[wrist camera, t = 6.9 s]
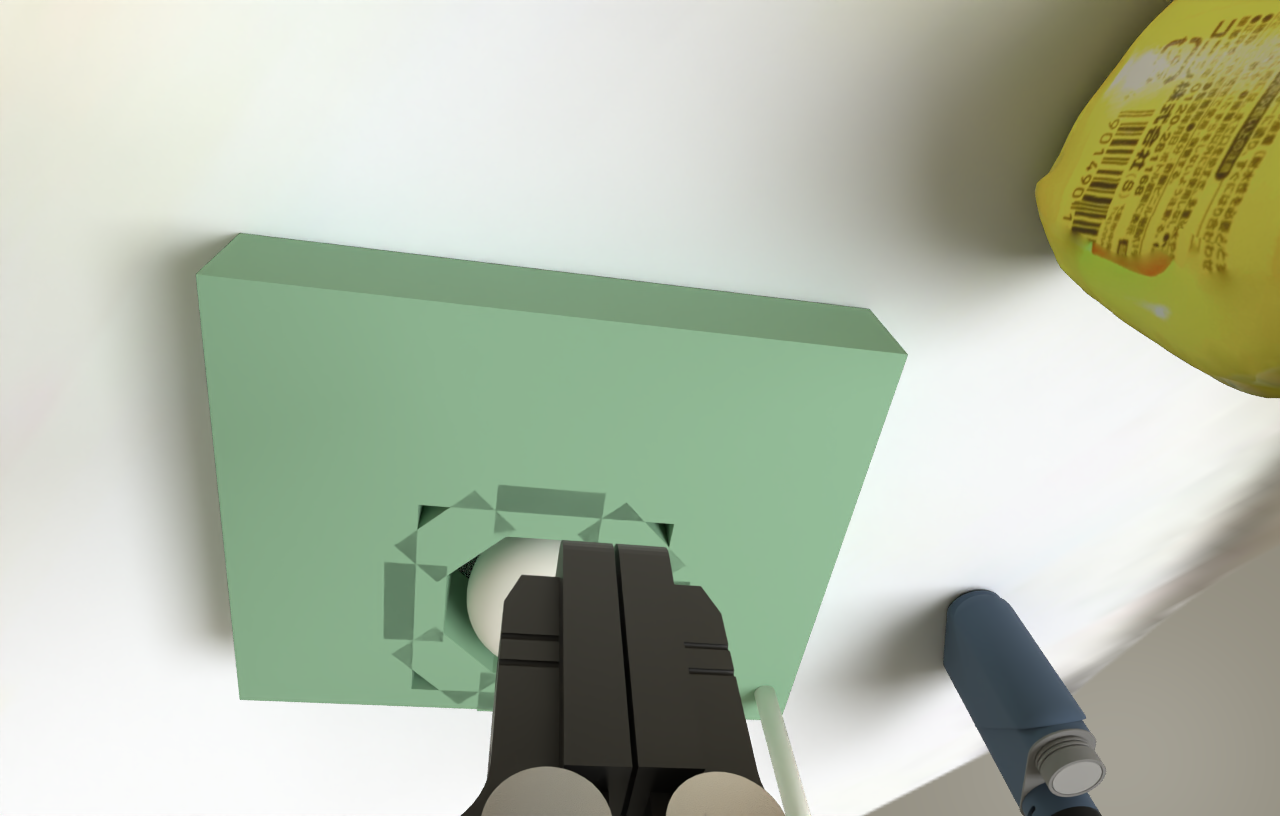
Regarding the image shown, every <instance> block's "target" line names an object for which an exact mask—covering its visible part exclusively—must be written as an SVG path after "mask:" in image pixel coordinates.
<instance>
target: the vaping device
mask: <svg viewBox="0 0 1280 816" xmlns="http://www.w3.org/2000/svg"><path fill="white" fill-rule="evenodd" d="M943 664H944V667H945V669H946V671H947V673H948V675H949V676H950V678H951V680H952V682H953V684H954V686H955V688H956V690H957V691H958V693H959V695H960V697H961V699H962V701H963V703H964V705H965V707H966V708H967V710H968V712H969V714H970V716H971V718H972V720H973V722H974V723H975V726H976V727H977V729H978V731H979V733H980V735H981V737H982V739H983V740H984V742H985V744H986V746H987V748H988V750H989V752H990V754H991V755H992V757H993V759H994V761H995V763H996V765H997V767H998V769H999V770H1000V772H1001V774H1002V776H1003V778H1004V780H1005V782H1006V784H1007V786H1008V787H1009V789H1010V791H1011V793H1012V795H1013V797H1014V799H1015V801H1016V802H1017V804H1018V806H1019V808H1020V812H1021V813H1022V815H1024V816H1102V815H1101V814H1100V812H1099V811H1098V809H1097V807H1096V806H1095V804H1094V802H1093V801H1092V799H1091V798H1090V796H1089V794H1088V793H1087V792H1088V791H1090V790H1092V789H1093V788H1095V787H1096V786H1098V785H1099V784H1100V783H1101V782H1102V780H1103V779H1104V777H1105V774H1106V768H1105V766H1104V764H1103V763H1102V761H1101V760H1100V758H1099V757H1098V755H1097V754H1096V752H1095V746H1096V739H1095V737H1094V735H1093V734H1092V733H1091V732H1090V731H1089V729H1088V728H1087V727H1086V725H1085V724H1084V722H1083V721H1082V720H1083V719H1086V716H1085V714H1084V713H1083V711H1082V710H1081V708H1080V707H1079V705H1078V704H1077V702H1076V701H1075V699H1074V698H1073V697H1072V695H1071V694H1070V692H1069V691H1068V689H1067V688H1066V686H1065V685H1064V683H1063V682H1062V680H1061V679H1060V677H1059V676H1058V674H1057V673H1056V672H1055V670H1054V669H1053V667H1052V666H1051V664H1050V663H1049V661H1048V660H1047V658H1046V657H1045V655H1044V654H1043V652H1042V651H1041V649H1040V648H1039V647H1038V645H1037V644H1036V642H1035V641H1034V639H1033V638H1032V636H1031V635H1030V633H1029V632H1028V630H1027V629H1026V627H1025V626H1024V624H1023V623H1022V622H1021V620H1020V619H1019V617H1018V616H1017V614H1016V613H1015V611H1014V610H1013V608H1012V607H1011V606H1010V604H1009V603H1007V602H1006V601H1005V600H1004V599H1002V598H1000V597H999V596H998V595H997V594H996V593H994V592H991V591H985V590H980V591H973V592H969V593H966V594H964V595H962V596H960V597H958V598H957V599H956V600H954V601H953V602H952V604H951V605H950V606H949V608H948V611H947V622H946V635H945V648H944V661H943Z"/></svg>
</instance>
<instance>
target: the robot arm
mask: <svg viewBox="0 0 1280 816" xmlns="http://www.w3.org/2000/svg"><path fill="white" fill-rule="evenodd" d="M461 816H785V814H784V812H783V811H782V809H781V807H780V806H779V804H778V803H777V802H776V801H775V800H774V798H773V797H772V796H771V795H770V794H769V793H768V792H766V791H765V790H764V787H763V785H762V783H761V781H760V778H759V775H758V771H757V767H756V763H755V758H754V754H753V750H752V745H751V741H750V736H749V732H748V728H747V723H746V719H745V715H744V710H743V706H742V701H741V697H740V693H739V688H738V684H737V680H736V677H735V676H734V667H733V662H732V658H731V653H730V651H728V640H727V636H726V632H725V627H724V623H723V618H722V614H721V613H720V611H719V610H718V608H717V607H716V606H715V604H714V603H713V602H712V600H711V599H710V598H709V596H708V595H707V594H706V592H705V591H704V589H703V588H702V587H701V586H691V585H676V584H674V580H673V574H672V568H671V563H670V557H669V552H668V549H667V548H666V547H657V546H643V545H630V544H615V546H613V544H612V543H599V542H585V541H571V540H561V543H560V548H559V555H558V562H557V568H556V575H555V577H550V576H535V575H521V576H520V578H519V579H518V581H517V582H516V584H515V585H514V587H513V588H512V590H511V591H510V593H509V594H508V596H507V597H506V599H505V600H504V605H503V614H502V623H501V633H500V642H499V651H498V661H497V670H496V680H495V692H494V703H493V715H492V727H491V740H490V751H489V762H488V774H487V781H486V783H485V786H484V788H483V789H482V791H481V793H480V795H479V796H478V798H477V799H476V800H475V802H474V803H473V804H472V805H471V806H470V807H469V808H468V809H467V810H466V811H465V812H464V813H463V814H462V815H461Z"/></svg>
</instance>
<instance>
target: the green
mask: <svg viewBox="0 0 1280 816" xmlns="http://www.w3.org/2000/svg"><path fill="white" fill-rule="evenodd" d="M196 282H197V291H198V301H199V311H200V320H201V330H202V339H203V349H204V359H205V368H206V378H207V388H208V397H209V407H210V417H211V426H212V436H213V446H214V455H215V465H216V475H217V484H218V494H219V504H220V513H221V523H222V533H223V542H224V552H225V562H226V571H227V581H228V590H229V600H230V610H231V619H232V629H233V639H234V648H235V658H236V668H237V677H238V687H239V697H240V700H259V701H285V702H310V703H336V704H362V705H387V706H413V707H439V708H465V709H477V711H493V703H494V692H495V680H496V670H497V661H498V657H497V656H496V655H494V654H493V653H492V652H491V651H490V650H488V649H487V648H486V647H485V646H484V644H483V643H482V642H481V641H480V639H479V638H478V636H477V635H476V633H475V631H474V629H473V627H472V624H471V622H470V619H469V615H468V611H467V586H468V580H469V579H468V578H467V577H466V576H464V575H463V574H462V573H461V572H460V571H459V570H458V568H459V567H461V566H462V565H464V564H466V563H467V562H469V561H470V560H472V559H473V558H475V557H476V556H478V555H479V554H481V553H482V552H484V551H485V550H487V549H488V548H490V547H491V546H493V545H494V544H496V543H497V542H499V541H500V540H502V539H503V538H505V537H506V536H507V537H521V538H535V539H549V540H571V541H585V542H599V543H612V544H613V546H615V544H630V545H643V546H657V547H666V548H667V549H668V552H669V557H670V563H671V568H672V574H673V580H674V584H676V585H691V586H701V587H702V588H703V589H704V591H705V592H706V594H707V595H708V596H709V598H710V599H711V600H712V602H713V603H714V604H715V606H716V607H717V608H718V610H719V611H720V613H721V614H722V618H723V623H724V627H725V632H726V636H727V640H728V651H730V653H731V658H732V662H733V667H734V676H735V677H736V680H737V684H738V688H739V693H740V697H741V701H742V706H743V710H744V715H745V719H747V720H761V723H762V727H763V731H764V734H765V738H766V742H767V746H768V750H769V754H770V757H771V761H772V765H773V769H774V773H775V776H776V780H777V784H778V788H779V792H780V796H781V799H782V803H783V807H784V811H785V815H786V816H811V814H810V810H809V807H808V803H807V800H806V796H805V793H804V790H803V786H802V783H801V779H800V776H799V772H798V769H797V765H796V762H795V758H794V755H793V752H792V748H791V745H790V741H789V738H788V734H787V731H786V727H785V724H784V721H783V717H782V714H783V711H784V709H785V706H786V703H787V700H788V697H789V694H790V691H791V688H792V686H793V683H794V680H795V677H796V674H797V671H798V668H799V666H800V663H801V660H802V657H803V654H804V651H805V648H806V645H807V643H808V640H809V637H810V634H811V631H812V628H813V625H814V623H815V620H816V617H817V614H818V611H819V608H820V605H821V602H822V600H823V597H824V594H825V591H826V588H827V585H828V582H829V579H830V577H831V574H832V571H833V568H834V565H835V562H836V559H837V557H838V554H839V551H840V548H841V545H842V542H843V539H844V536H845V534H846V531H847V528H848V525H849V522H850V519H851V516H852V514H853V511H854V508H855V505H856V502H857V499H858V496H859V493H860V491H861V488H862V485H863V482H864V479H865V476H866V473H867V471H868V468H869V465H870V462H871V459H872V456H873V453H874V450H875V448H876V445H877V442H878V439H879V436H880V433H881V430H882V428H883V425H884V422H885V419H886V416H887V413H888V410H889V407H890V405H891V402H892V399H893V396H894V393H895V390H896V387H897V384H898V382H899V379H900V376H901V373H902V370H903V367H904V364H905V362H906V359H907V356H908V354H907V353H906V352H905V351H904V349H903V348H902V347H901V346H900V345H899V343H898V342H897V341H896V340H895V339H894V338H893V336H892V335H891V334H890V333H889V332H888V330H887V329H886V328H885V327H884V326H883V325H882V323H881V322H880V321H879V320H878V319H877V317H876V316H875V315H874V314H873V313H872V311H871V310H870V309H864V308H856V307H847V306H839V305H831V304H822V303H814V302H806V301H798V300H789V299H781V298H773V297H765V296H756V295H748V294H740V293H731V292H723V291H715V290H707V289H698V288H690V287H682V286H673V285H665V284H657V283H649V282H640V281H632V280H624V279H616V278H607V277H599V276H591V275H582V274H574V273H566V272H558V271H549V270H541V269H533V268H525V267H516V266H508V265H500V264H491V263H483V262H475V261H467V260H458V259H450V258H442V257H434V256H425V255H417V254H409V253H400V252H392V251H384V250H376V249H367V248H359V247H351V246H342V245H334V244H326V243H318V242H309V241H301V240H293V239H285V238H276V237H268V236H260V235H251V234H243V233H240V234H239V235H237V236H236V237H235V238H234V239H233V240H232V241H231V242H230V243H229V244H228V245H227V246H226V247H225V248H224V249H222V250H221V251H220V252H219V253H218V254H217V255H216V256H215V257H214V258H213V259H212V260H211V261H210V262H208V263H207V264H206V265H205V266H204V267H203V268H202V269H201V270H200V271H199V272H198V273H197V274H196Z"/></svg>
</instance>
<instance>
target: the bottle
mask: <svg viewBox="0 0 1280 816" xmlns="http://www.w3.org/2000/svg"><path fill="white" fill-rule="evenodd" d="M1035 197H1036V203H1037V208H1038V212H1039V217H1040V220H1041V223H1042V225H1043V228H1044V231H1045V234H1046V236H1047V239H1048V241H1049V244H1050V246H1051V248H1052V250H1053V253H1054V255H1055V258H1056V260H1057V262H1058V264H1059V266H1060V268H1061V269H1062V270H1063V271H1064V272H1065V273H1066V274H1067V275H1068V276H1069V277H1070V278H1071V279H1072V280H1073V281H1074V282H1075V283H1076V284H1077V285H1079V286H1080V287H1081V288H1082V289H1083V290H1084V291H1085V292H1086V293H1087V294H1088V295H1090V296H1091V297H1092V298H1094V299H1095V300H1097V301H1098V302H1100V303H1101V304H1102V305H1103V306H1104V307H1106V308H1107V309H1108V310H1110V311H1111V312H1112V313H1113V314H1114V315H1116V316H1117V317H1118V318H1119V319H1121V320H1122V321H1124V322H1125V323H1127V324H1128V325H1130V326H1131V327H1133V328H1134V329H1136V330H1137V331H1139V332H1140V333H1142V334H1143V335H1145V336H1146V337H1148V338H1149V339H1151V340H1152V341H1154V342H1155V343H1157V344H1159V345H1160V346H1161V347H1163V348H1164V349H1166V350H1167V351H1169V352H1170V353H1172V354H1173V355H1175V356H1177V357H1178V358H1180V359H1181V360H1183V361H1185V362H1186V363H1188V364H1190V365H1191V366H1193V367H1195V368H1197V369H1199V370H1200V371H1202V372H1204V373H1206V374H1208V375H1210V376H1211V377H1213V378H1214V379H1216V380H1218V381H1219V382H1221V383H1223V384H1226V385H1228V386H1230V387H1232V388H1234V389H1237V390H1239V391H1242V392H1245V393H1248V394H1251V395H1255V396H1260V397H1265V398H1280V0H1174V1H1173V2H1172V3H1171V4H1170V5H1169V6H1167V7H1166V8H1165V9H1164V10H1163V11H1162V12H1161V13H1160V14H1159V15H1158V16H1157V17H1156V18H1155V19H1154V20H1153V21H1152V22H1151V23H1150V24H1149V25H1148V26H1147V27H1146V28H1145V30H1144V31H1143V32H1142V33H1141V34H1140V35H1139V36H1138V38H1137V39H1136V40H1135V41H1134V43H1133V44H1132V45H1131V46H1130V48H1129V49H1128V50H1127V52H1126V53H1125V55H1124V56H1123V57H1122V59H1121V60H1120V61H1119V63H1118V64H1117V66H1116V67H1115V68H1114V69H1113V71H1112V72H1111V73H1110V74H1109V76H1108V77H1107V78H1106V80H1105V81H1104V82H1103V84H1102V85H1101V86H1100V88H1099V89H1098V90H1097V92H1096V93H1095V94H1094V96H1093V97H1092V98H1091V99H1090V101H1089V102H1088V103H1087V105H1086V106H1085V107H1084V109H1083V110H1082V112H1081V113H1080V115H1079V116H1078V118H1077V120H1076V122H1075V123H1074V125H1073V127H1072V129H1071V131H1070V133H1069V135H1068V137H1067V139H1066V141H1065V143H1064V146H1063V148H1062V150H1061V152H1060V154H1059V156H1058V158H1057V159H1056V161H1055V163H1054V165H1053V166H1052V168H1051V170H1050V171H1049V173H1048V174H1047V175H1045V176H1044V177H1043V178H1042V179H1041V180H1039V181H1038V182H1037V184H1036V188H1035Z"/></svg>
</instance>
